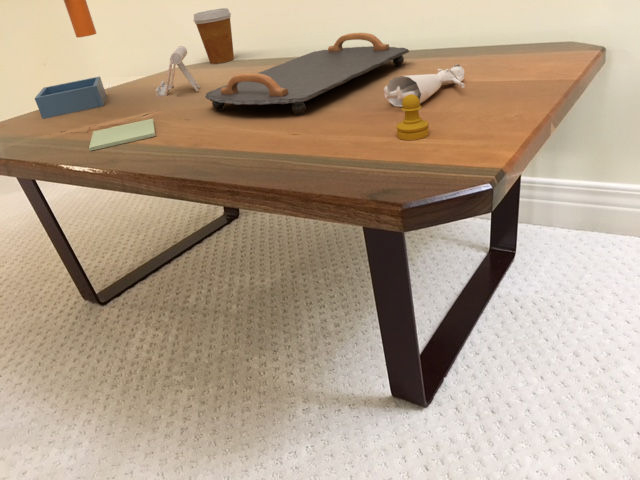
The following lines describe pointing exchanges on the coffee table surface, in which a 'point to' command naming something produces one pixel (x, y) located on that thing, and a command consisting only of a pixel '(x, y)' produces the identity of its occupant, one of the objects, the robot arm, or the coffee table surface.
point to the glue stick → (80, 17)
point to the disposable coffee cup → (216, 34)
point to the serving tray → (307, 75)
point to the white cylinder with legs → (175, 59)
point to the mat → (122, 134)
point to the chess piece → (412, 120)
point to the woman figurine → (422, 84)
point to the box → (71, 97)
